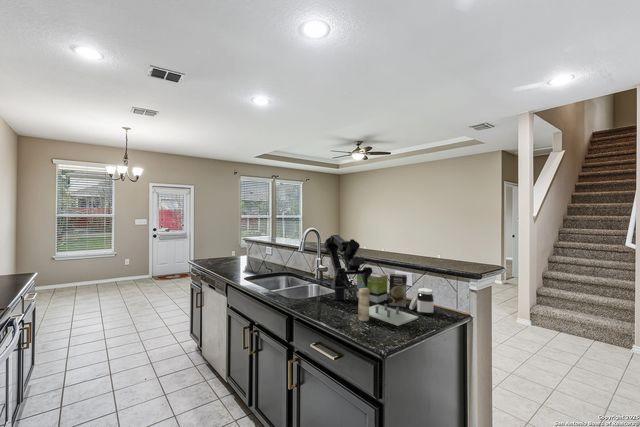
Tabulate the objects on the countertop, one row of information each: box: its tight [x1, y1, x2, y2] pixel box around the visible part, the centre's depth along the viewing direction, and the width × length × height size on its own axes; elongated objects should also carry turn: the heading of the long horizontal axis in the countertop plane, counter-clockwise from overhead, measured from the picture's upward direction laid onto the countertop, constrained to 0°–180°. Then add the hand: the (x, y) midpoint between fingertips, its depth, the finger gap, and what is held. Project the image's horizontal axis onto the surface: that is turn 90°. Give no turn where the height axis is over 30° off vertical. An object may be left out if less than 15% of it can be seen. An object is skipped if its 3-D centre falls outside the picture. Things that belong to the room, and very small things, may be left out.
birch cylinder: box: [357, 288, 370, 322], centre depth 143 cm, size 5×5×14 cm
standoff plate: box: [369, 303, 419, 327], centre depth 150 cm, size 24×16×4 cm, turn 40°
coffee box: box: [388, 273, 408, 308], centre depth 167 cm, size 9×6×16 cm
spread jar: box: [408, 287, 435, 316], centre depth 155 cm, size 12×11×12 cm
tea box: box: [356, 271, 388, 304], centre depth 178 cm, size 15×10×15 cm
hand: (358, 287), depth 150 cm, fingers open, 9 cm apart
